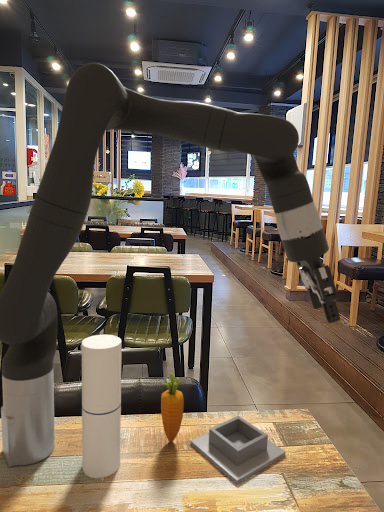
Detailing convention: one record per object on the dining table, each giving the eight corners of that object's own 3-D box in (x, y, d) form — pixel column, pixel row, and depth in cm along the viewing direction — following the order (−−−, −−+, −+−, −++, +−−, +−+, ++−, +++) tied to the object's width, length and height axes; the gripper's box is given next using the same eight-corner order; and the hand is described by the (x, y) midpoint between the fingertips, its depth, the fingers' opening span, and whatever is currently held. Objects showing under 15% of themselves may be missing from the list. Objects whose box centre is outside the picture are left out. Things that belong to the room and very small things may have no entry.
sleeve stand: (236, 484, 68) (238, 464, 67) (190, 444, 79) (191, 426, 78) (285, 455, 76) (286, 437, 76) (237, 422, 87) (238, 406, 87)
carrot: (179, 451, 76) (182, 382, 74) (156, 447, 77) (158, 379, 75) (184, 436, 81) (187, 372, 79) (163, 433, 82) (164, 369, 80)
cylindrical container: (86, 482, 67) (86, 351, 63) (79, 458, 73) (78, 337, 70) (124, 470, 70) (126, 345, 67) (114, 448, 76) (115, 332, 73)
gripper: (274, 234, 74) (297, 309, 76) (289, 242, 60) (317, 333, 62) (310, 222, 74) (332, 298, 75) (334, 227, 59) (361, 319, 61)
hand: (326, 314), depth 69 cm, fingers open, 8 cm apart
